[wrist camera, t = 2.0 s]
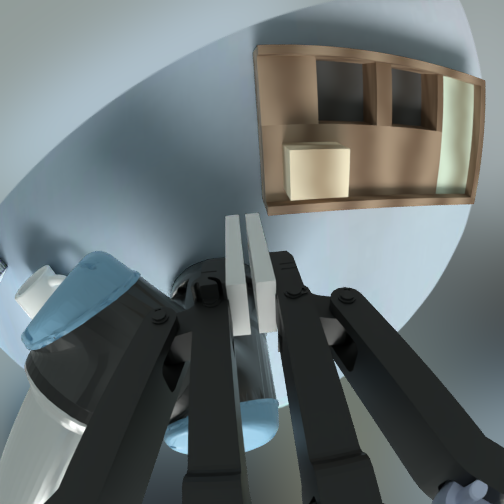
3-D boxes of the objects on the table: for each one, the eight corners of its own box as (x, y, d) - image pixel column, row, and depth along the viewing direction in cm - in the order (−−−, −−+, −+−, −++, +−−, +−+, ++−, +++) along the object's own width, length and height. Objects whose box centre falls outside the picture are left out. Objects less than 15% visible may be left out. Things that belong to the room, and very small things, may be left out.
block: (283, 187, 32) (290, 200, 29) (281, 143, 29) (289, 150, 26) (335, 184, 32) (348, 196, 29) (336, 141, 30) (350, 148, 26)
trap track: (262, 198, 37) (268, 215, 32) (252, 52, 28) (257, 45, 23) (452, 190, 38) (473, 204, 33) (460, 77, 29) (485, 80, 24)
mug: (63, 317, 44) (47, 349, 37) (29, 275, 39) (7, 304, 32) (109, 297, 43) (93, 333, 36) (71, 247, 38) (48, 278, 31)
